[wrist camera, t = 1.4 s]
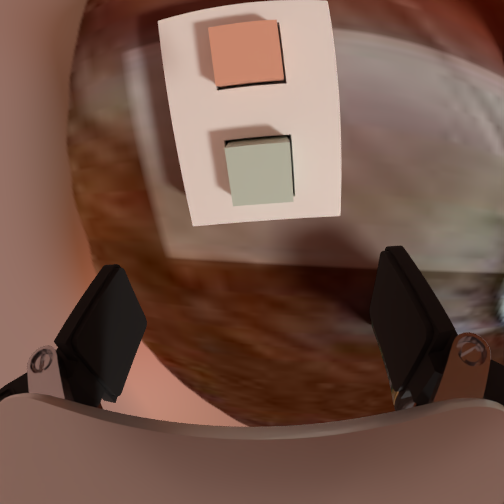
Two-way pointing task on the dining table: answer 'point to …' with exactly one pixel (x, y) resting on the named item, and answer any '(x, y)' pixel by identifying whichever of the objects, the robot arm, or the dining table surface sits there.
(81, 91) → the dining table surface
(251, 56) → the terracotta button
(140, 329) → the robot arm
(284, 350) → the dining table surface
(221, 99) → the button panel
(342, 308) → the dining table surface
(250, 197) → the sage button
